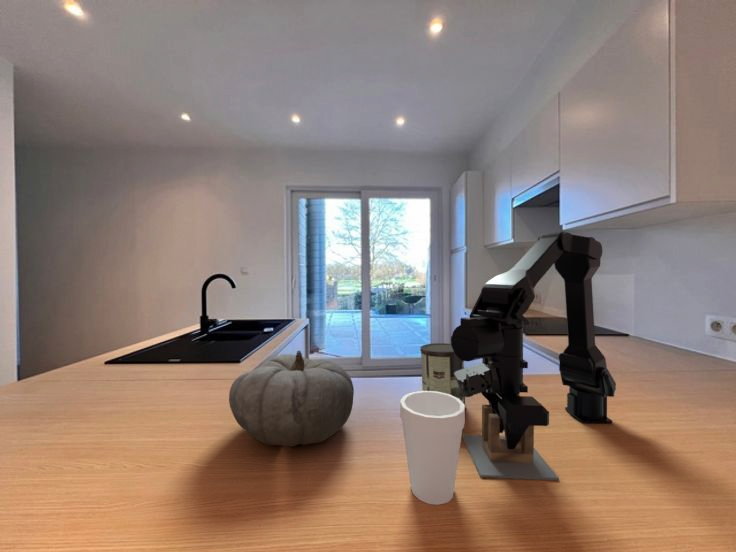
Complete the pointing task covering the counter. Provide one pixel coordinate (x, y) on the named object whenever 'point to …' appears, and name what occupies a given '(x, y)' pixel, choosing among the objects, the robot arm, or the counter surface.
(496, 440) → the wooden chair
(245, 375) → the gourd
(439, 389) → the coffee can
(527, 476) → the mat
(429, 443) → the foam cup
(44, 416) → the counter surface
